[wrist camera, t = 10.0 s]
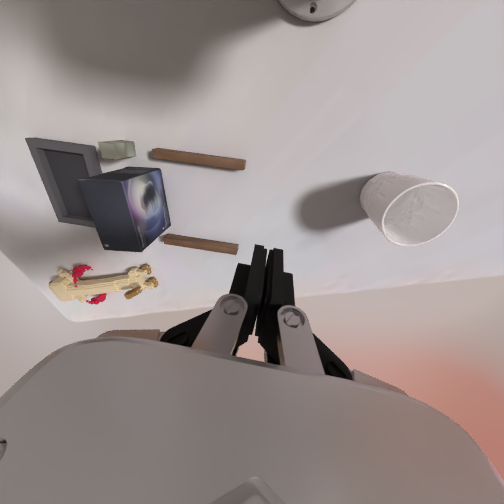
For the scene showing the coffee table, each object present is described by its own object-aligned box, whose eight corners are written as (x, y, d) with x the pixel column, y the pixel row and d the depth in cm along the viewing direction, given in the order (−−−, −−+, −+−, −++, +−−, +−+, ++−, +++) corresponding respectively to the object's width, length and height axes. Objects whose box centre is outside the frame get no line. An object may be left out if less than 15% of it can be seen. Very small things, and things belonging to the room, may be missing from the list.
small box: (173, 226, 40) (143, 254, 31) (141, 224, 40) (102, 251, 31) (162, 167, 34) (122, 181, 25) (125, 165, 35) (73, 179, 26)
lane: (121, 140, 33) (98, 142, 29) (246, 157, 32) (241, 161, 28) (140, 236, 42) (124, 248, 38) (237, 251, 41) (233, 265, 37)
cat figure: (147, 251, 45) (47, 266, 48) (124, 275, 38) (7, 292, 41) (164, 286, 50) (72, 298, 53) (147, 314, 43) (42, 326, 46)
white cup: (380, 157, 30) (420, 168, 22) (422, 182, 31) (477, 202, 23) (344, 204, 34) (366, 229, 26) (383, 225, 35) (417, 256, 27)
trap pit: (34, 137, 34) (24, 138, 33) (94, 146, 34) (87, 146, 32) (65, 218, 42) (58, 221, 40) (115, 226, 41) (110, 229, 40)
